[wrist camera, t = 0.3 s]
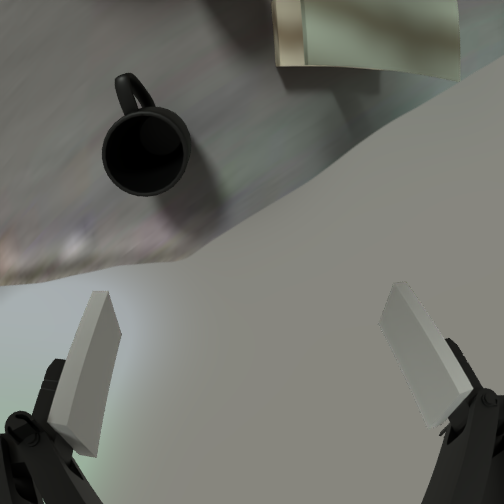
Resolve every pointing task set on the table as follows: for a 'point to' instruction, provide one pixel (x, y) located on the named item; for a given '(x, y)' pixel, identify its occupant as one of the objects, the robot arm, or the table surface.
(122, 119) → the mug
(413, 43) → the socket block
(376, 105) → the table surface
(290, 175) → the table surface
